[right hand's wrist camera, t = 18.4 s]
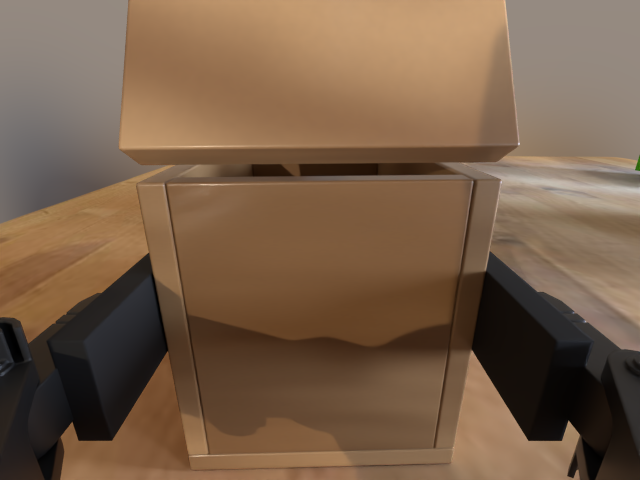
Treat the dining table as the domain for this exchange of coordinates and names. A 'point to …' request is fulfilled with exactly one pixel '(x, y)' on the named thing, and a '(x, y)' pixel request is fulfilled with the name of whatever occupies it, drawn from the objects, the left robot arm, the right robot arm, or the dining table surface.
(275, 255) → the chest
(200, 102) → the lid
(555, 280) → the dining table surface
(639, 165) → the toy car
